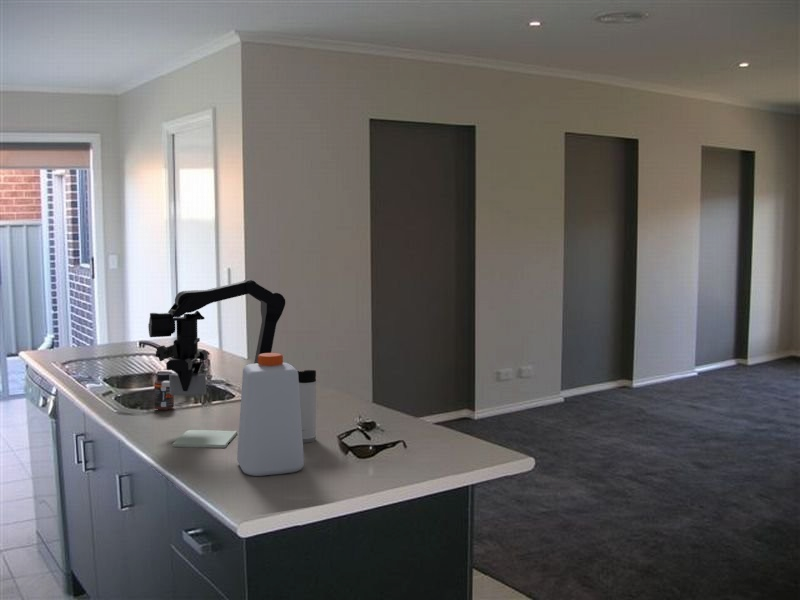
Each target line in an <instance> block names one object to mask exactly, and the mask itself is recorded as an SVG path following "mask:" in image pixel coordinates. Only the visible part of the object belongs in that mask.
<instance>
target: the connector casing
mask: <svg viewBox="0 0 800 600" xmlns="http://www.w3.org/2000/svg"><path fill="white" fill-rule="evenodd" d="M162 387H170V394H171V395H174V396H204V395H207V374H206V373H200V372H199V373H193V375H192V378H191V382H190V385H189V388H188V391H183V388H182V385H181V382H180V379H179V376H178V374H177V373H176V372H174V373H170V375H169V381H163V382H162Z"/></svg>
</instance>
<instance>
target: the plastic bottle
mask: <svg viewBox="0 0 800 600" xmlns="http://www.w3.org/2000/svg"><path fill="white" fill-rule="evenodd" d="M298 371H299V370H297V369H296V368H295V367H294V366H293V365H291V364H290V363H288V362H284V355H283V354H282V353H278V352H271V353H262V354H259V356H258V363H255V364H254V363H249V364H246V365H245V366H244V367H243V369H242V379H241V381H242V382H241V393H240V394H241V396H240V397H241V398H240V410H239V411H240V413H239V424H238V425H239V427H238V440H237V457H236V460H237V463H238V465H239V467H240V468H241V471H242V472H243V473H244V474H245V475H249V476H252V477H253V476H254V477H263V476H265V477H266V476H275V475H283V474H292V473H296V472H300V471H301V470H302V469H303V467H304V465H305V457H304V456H305V455H304V443H303V439H302V424H301V409H300V393H299V378H298Z"/></svg>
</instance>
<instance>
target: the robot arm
mask: <svg viewBox="0 0 800 600" xmlns="http://www.w3.org/2000/svg"><path fill="white" fill-rule="evenodd" d="M246 295H250V296H251V297H253V298H254V299H256V300H257V301H259V302H260V315H261V324H260V331H259V335H258V341H257V346H256V351H255V357H254V362H253V364H255V363H258V356H259V354H262V353H272V351H273V345H274V339H275V333H276V329H277V324H278V321H280V318H281V317H282V315H283V311H284V309H285V306H286V299H285V296H284V295H282V294H281V293H280V292H279V293H278V292H275V291H272V290H269V289H267V288H265V287H264V286H262V285H260V284H258V283H257V282H256V281H255V280H253V279H244V280H242V281H238V282H235V283H234V282H233V283H230V284H225V285H221V286H217V287H214V288H210V289H201V290H200V289H199V290H198V289H196V290H195V289H194V290H191V289H190V290H182V291H179V292H178V293H177V295H176V296H175V298H174V303H173V304H172V306H171V307H170V308H169V310H168V312H160V313H159V312H150V313H149V322H148V325H147V328H148V334H149V338H164V337H165V338H166V337H172V335H174V333H175V332H176V339H174V340H173V344H172V345H169V346H165V345H161V346H158V347H156V351H155V357H156V358H158V360H159V362H163V361H164V360H167V359H168V358H171V359H169V360H168V361H167V362H166V363H165V365H166V366H165V367H166V369H165V370H166V371H173V372H174V373H177V374H178V376H179V379H180V382H181V385H182V388H183V391H188V388H189V385H190V382H191V378H192V375H193V373H200V371H201V369H202V367H203V364H204V361H206V360H208V352H207V351H206V350H205V349H199V347H198V346H199V345H198V343H199V342H200V341H201V339H200V337H198V321H199V320H200V321H201V320H205V317H204V315H202V314H201V312H200V311H198V310H200V309H202V308H204V307H206V306H208V305H210V304H213V303H217V302H222V301H225V300H229V299H232V298H237V297H238V298H239V297H240V296H246ZM193 312H194V313H193ZM201 359H202V361H199V360H201Z"/></svg>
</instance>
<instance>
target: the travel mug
mask: <svg viewBox="0 0 800 600" xmlns="http://www.w3.org/2000/svg"><path fill="white" fill-rule="evenodd" d="M297 371H298V378H299V393H300V409H301V424H302V439H303V444H309V443H313V442H315V441H316V440H317V379H316V378H317V371H316V370H315V369H307V370H306V369H305V370H301V371H299V370H297Z"/></svg>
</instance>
